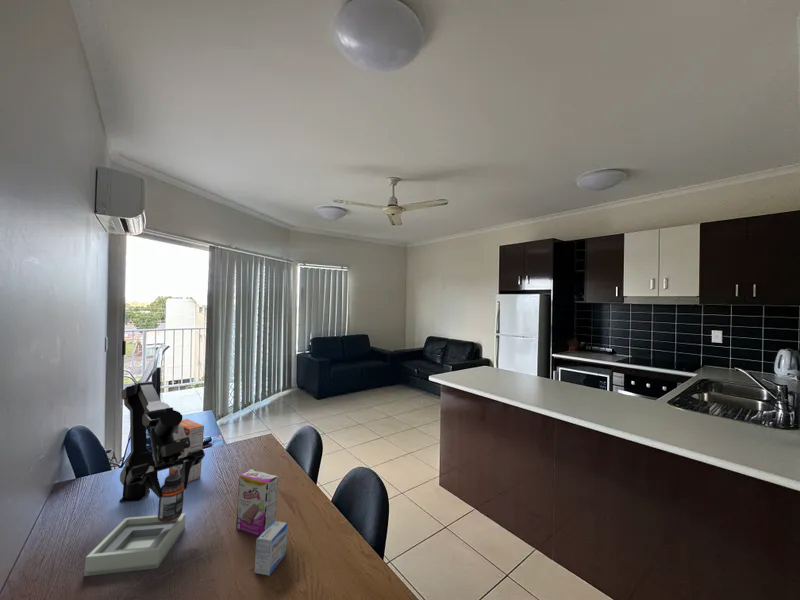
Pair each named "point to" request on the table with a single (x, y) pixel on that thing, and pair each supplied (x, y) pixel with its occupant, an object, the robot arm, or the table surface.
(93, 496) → the table surface
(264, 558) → the medicine box
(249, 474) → the candy bar box
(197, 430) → the cracker box
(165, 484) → the supplement bottle
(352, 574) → the table surface
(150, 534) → the bore box
